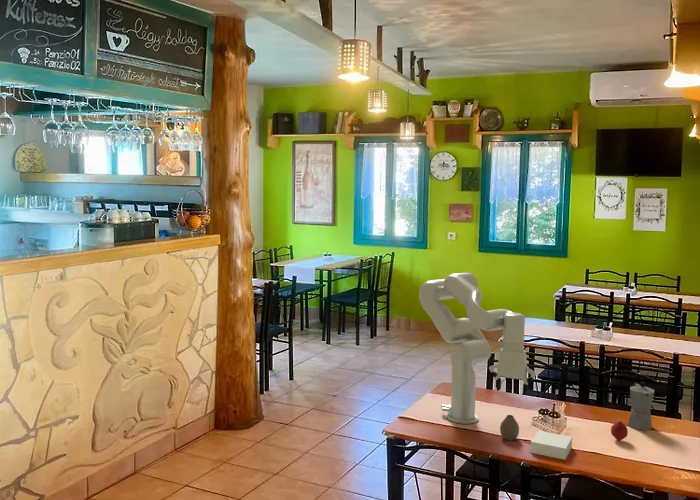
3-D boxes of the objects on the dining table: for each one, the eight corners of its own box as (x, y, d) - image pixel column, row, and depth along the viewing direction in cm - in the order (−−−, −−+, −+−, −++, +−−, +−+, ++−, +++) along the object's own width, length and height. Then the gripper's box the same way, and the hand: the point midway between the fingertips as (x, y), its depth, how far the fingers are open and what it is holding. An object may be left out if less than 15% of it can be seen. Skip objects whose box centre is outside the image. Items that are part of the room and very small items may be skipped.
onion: (626, 439, 251) (627, 418, 250) (627, 444, 245) (628, 423, 244) (610, 436, 253) (611, 416, 252) (610, 442, 247) (611, 421, 246)
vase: (519, 443, 245) (520, 419, 244) (499, 441, 247) (500, 418, 246) (518, 436, 252) (519, 413, 251) (499, 434, 253) (500, 411, 252)
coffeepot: (658, 433, 257) (661, 387, 255) (633, 432, 258) (636, 386, 256) (643, 418, 272) (646, 375, 270) (620, 418, 273) (622, 375, 271)
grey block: (530, 452, 237) (530, 441, 236) (538, 441, 247) (538, 430, 247) (565, 459, 231) (565, 448, 231) (571, 447, 242) (572, 437, 241)
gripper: (487, 345, 246) (485, 390, 248) (534, 351, 238) (532, 398, 240) (493, 341, 253) (491, 385, 255) (539, 347, 245) (537, 392, 246)
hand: (511, 391), depth 247 cm, fingers open, 9 cm apart
